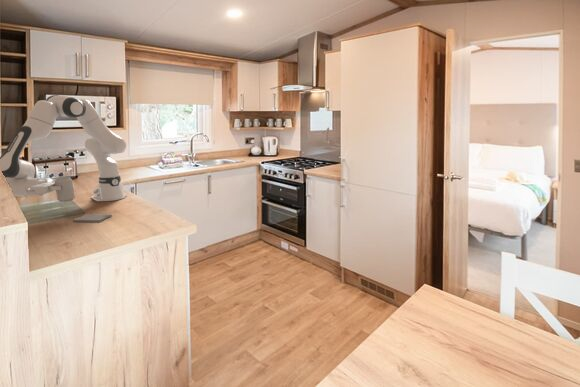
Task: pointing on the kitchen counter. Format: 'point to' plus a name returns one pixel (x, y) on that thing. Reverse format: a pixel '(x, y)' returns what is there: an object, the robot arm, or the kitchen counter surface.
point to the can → (65, 189)
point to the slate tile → (92, 218)
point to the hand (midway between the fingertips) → (66, 186)
